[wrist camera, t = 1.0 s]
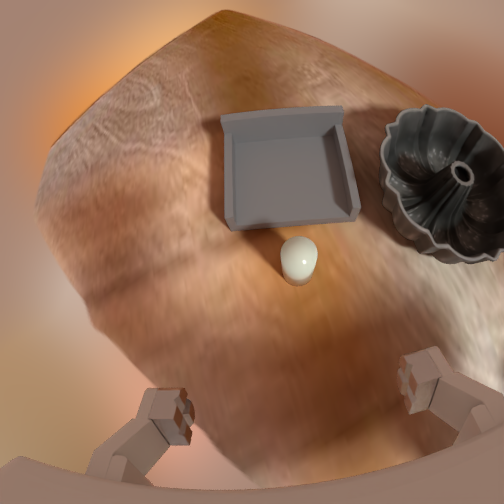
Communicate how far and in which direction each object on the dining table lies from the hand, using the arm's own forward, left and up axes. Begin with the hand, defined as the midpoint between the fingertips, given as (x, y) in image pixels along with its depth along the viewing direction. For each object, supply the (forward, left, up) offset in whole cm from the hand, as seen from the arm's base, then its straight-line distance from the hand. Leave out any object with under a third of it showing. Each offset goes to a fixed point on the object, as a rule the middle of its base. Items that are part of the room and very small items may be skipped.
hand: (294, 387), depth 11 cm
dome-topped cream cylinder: (+12, -2, -33) cm, 35 cm away
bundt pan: (+22, -27, -33) cm, 48 cm away
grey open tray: (+27, -2, -33) cm, 42 cm away
